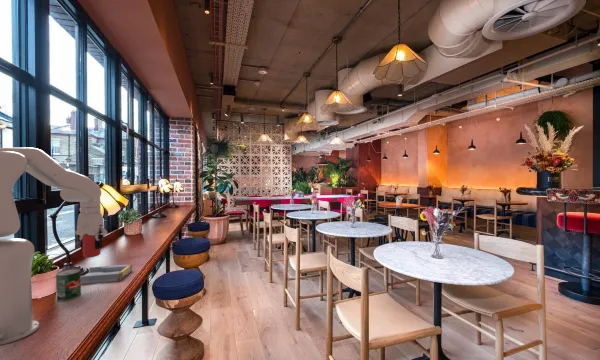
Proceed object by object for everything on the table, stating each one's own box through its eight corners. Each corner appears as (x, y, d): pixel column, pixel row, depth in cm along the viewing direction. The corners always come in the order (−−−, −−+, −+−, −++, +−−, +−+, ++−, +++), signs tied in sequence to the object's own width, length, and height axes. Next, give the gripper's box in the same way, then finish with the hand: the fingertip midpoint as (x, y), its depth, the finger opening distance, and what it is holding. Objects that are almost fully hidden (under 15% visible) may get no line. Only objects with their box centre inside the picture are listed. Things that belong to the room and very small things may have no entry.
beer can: (87, 258, 122) (86, 232, 122) (80, 256, 125) (79, 231, 125) (103, 254, 128) (102, 229, 128) (96, 253, 131) (95, 228, 131)
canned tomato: (62, 294, 117) (61, 270, 117) (84, 291, 120) (83, 267, 119) (52, 303, 109) (52, 276, 109) (76, 299, 112) (75, 273, 112)
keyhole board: (119, 281, 131) (119, 274, 131) (72, 285, 127) (72, 277, 127) (132, 270, 146) (132, 263, 146) (91, 273, 142) (91, 266, 142)
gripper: (66, 211, 123) (67, 250, 124) (100, 211, 121) (101, 251, 122) (81, 209, 131) (82, 245, 131) (113, 209, 129) (114, 246, 129)
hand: (91, 248), depth 126 cm, fingers closed on beer can, 6 cm apart
